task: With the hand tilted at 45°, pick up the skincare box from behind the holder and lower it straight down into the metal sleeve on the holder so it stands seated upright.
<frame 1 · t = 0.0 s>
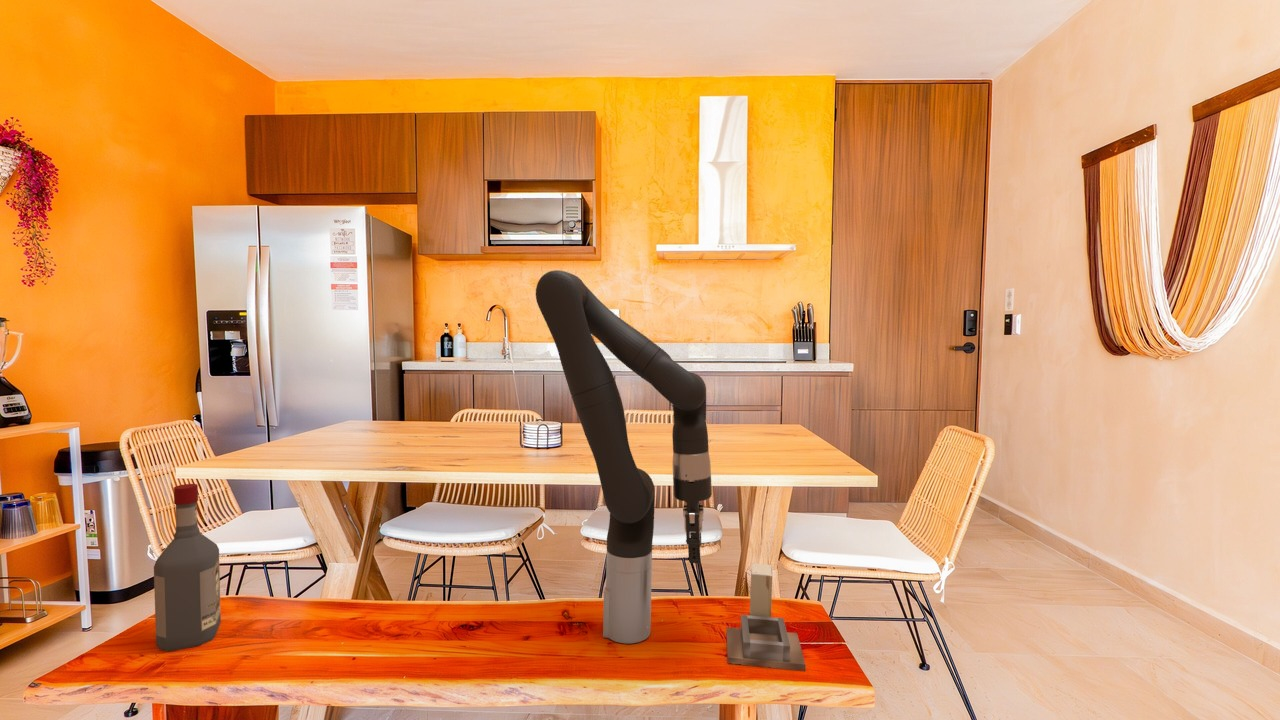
hand: (695, 553, 116), 17 cm above the bench, tool pointing down, fingers open, 8 cm apart
skincare box: (759, 626, 122), on the bench
serum holder: (763, 650, 112), on the bench
liquor: (189, 638, 113), on the bench
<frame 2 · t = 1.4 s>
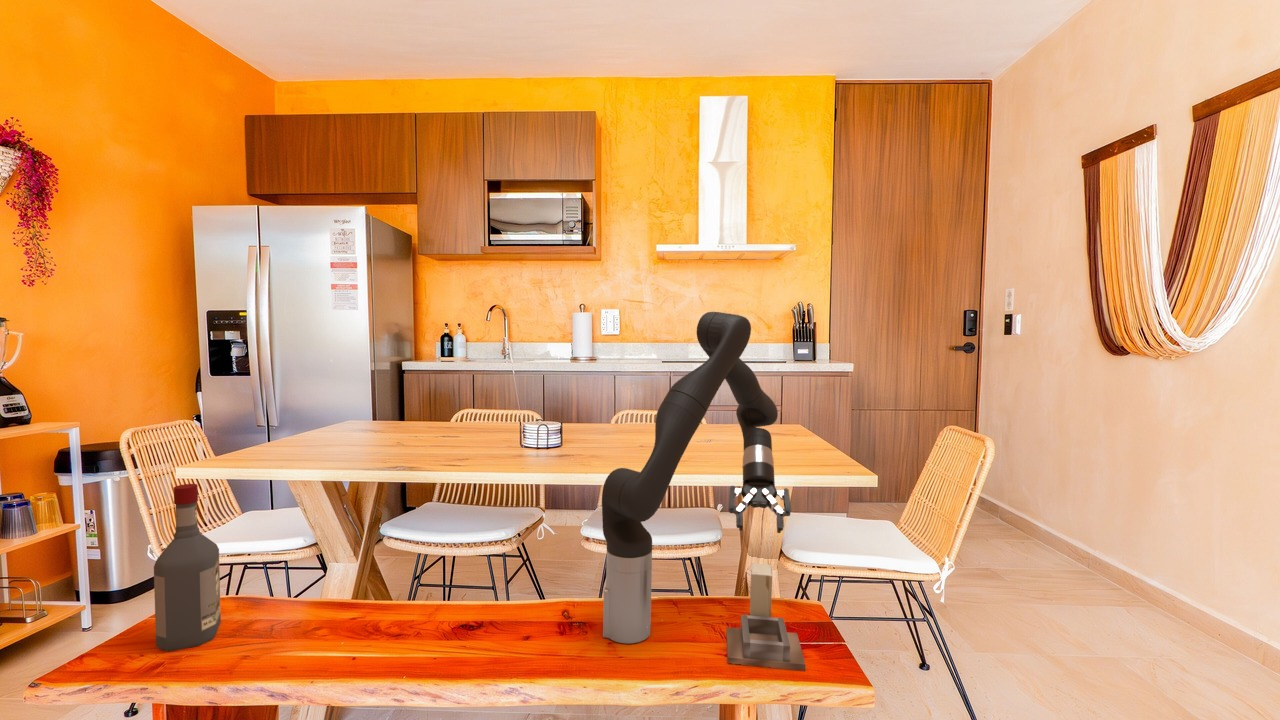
hand: (760, 530, 132), 16 cm above the bench, tool tilted 45°, fingers open, 8 cm apart
nothing on the bench moved.
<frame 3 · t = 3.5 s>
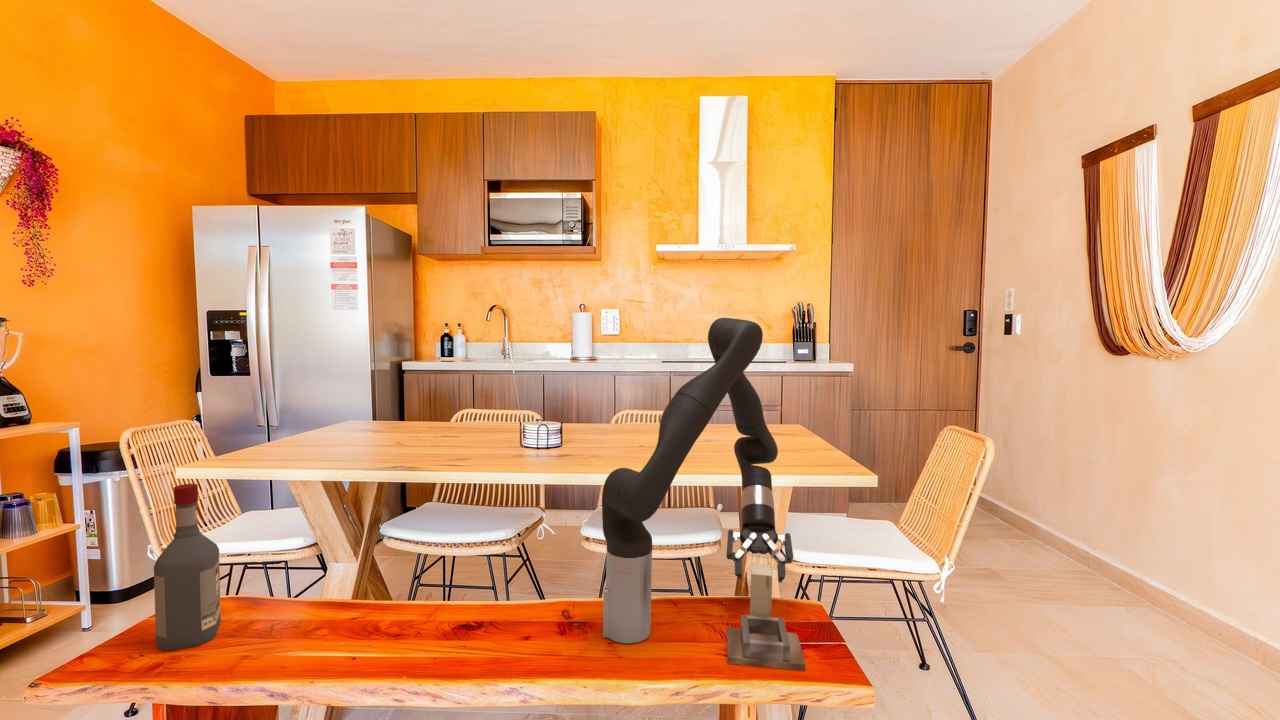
hand: (760, 579, 124), 9 cm above the bench, tool tilted 45°, fingers open, 8 cm apart
nothing on the bench moved.
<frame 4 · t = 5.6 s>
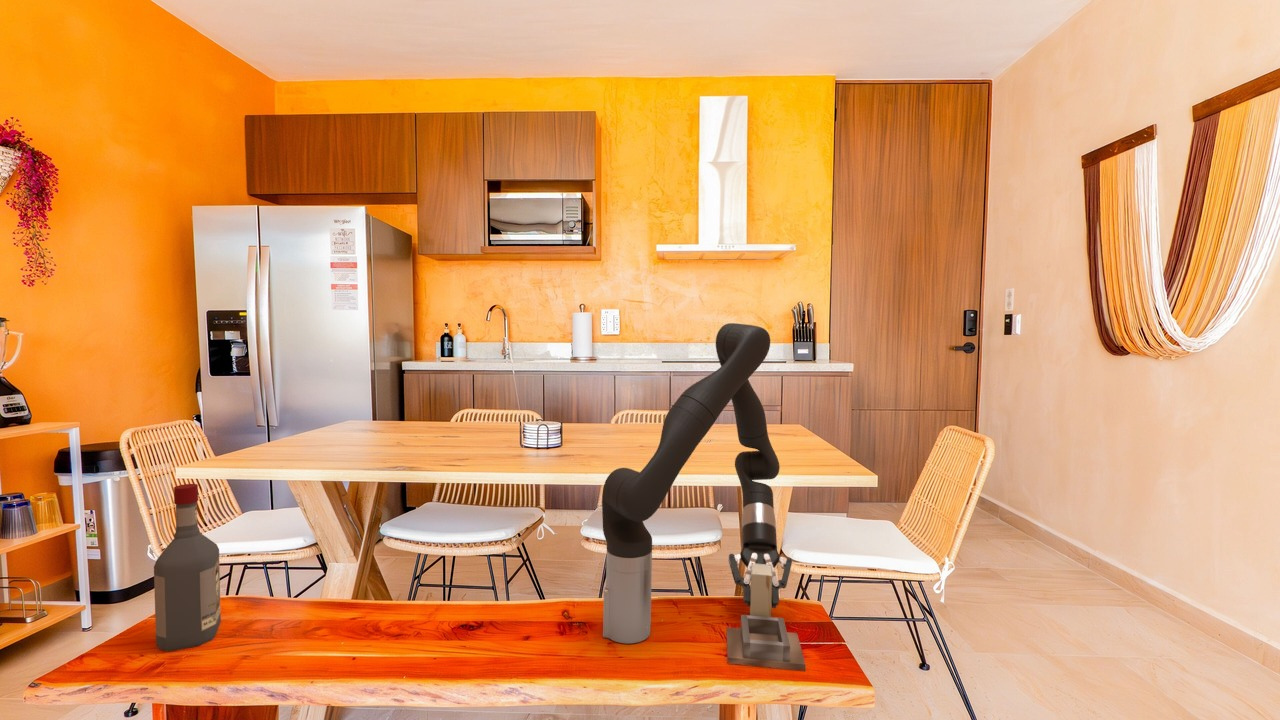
hand: (761, 605, 119), 5 cm above the bench, tool tilted 45°, fingers closed on skincare box, 4 cm apart
skincare box: (759, 626, 122), on the bench, touching gripper
everything else where it was.
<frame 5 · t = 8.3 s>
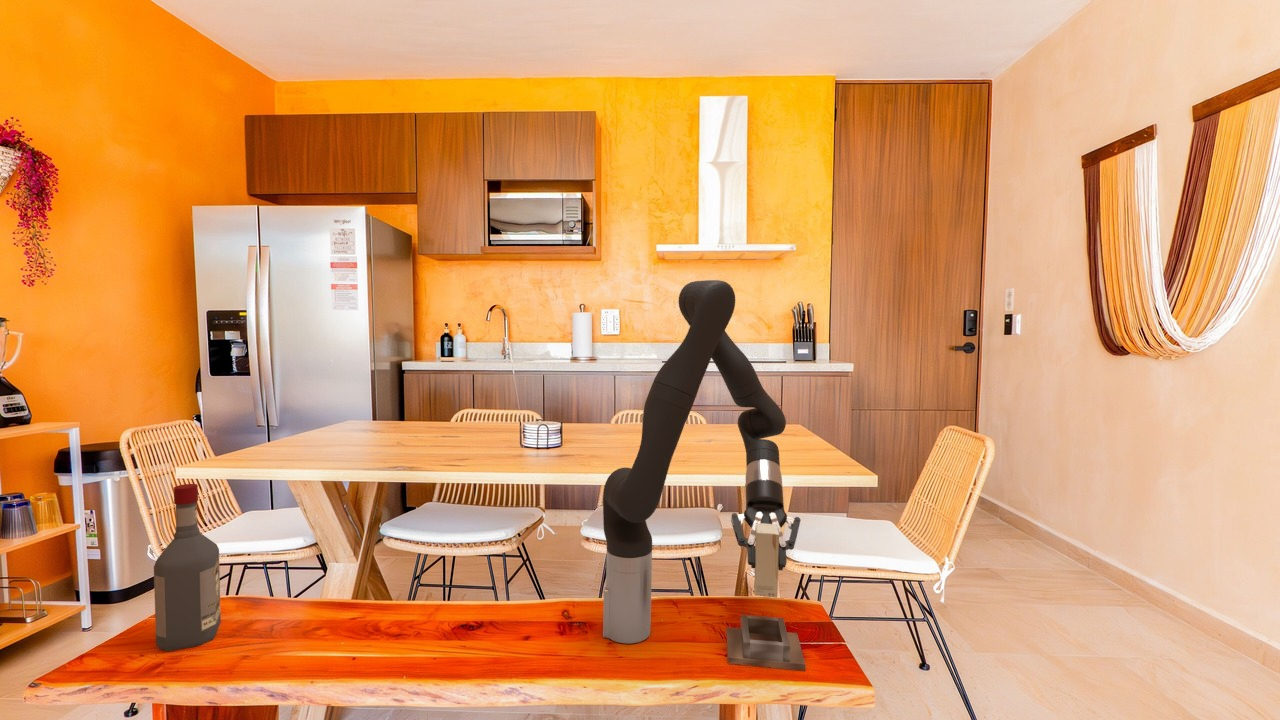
hand: (767, 567, 109), 17 cm above the bench, tool tilted 45°, fingers closed on skincare box, 4 cm apart
skincare box: (765, 591, 112), point 12 cm above the bench, touching gripper
everything else where it was.
when the fingers open (8 cm above the bench, at t = 11.2 s): skincare box drops 1 cm, resting on serum holder.
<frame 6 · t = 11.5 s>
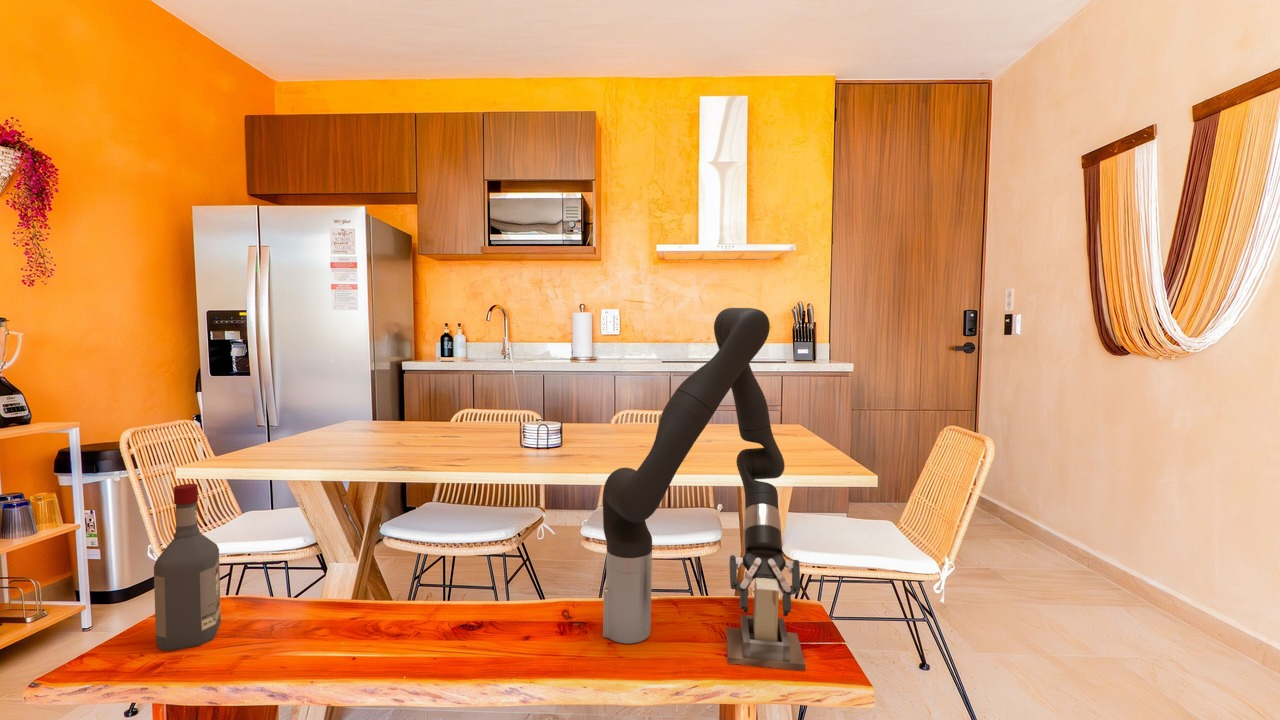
hand: (765, 612, 110), 8 cm above the bench, tool tilted 45°, fingers open, 7 cm apart
skincare box: (764, 645, 112), point 1 cm above the bench, touching serum holder
everything else where it was.
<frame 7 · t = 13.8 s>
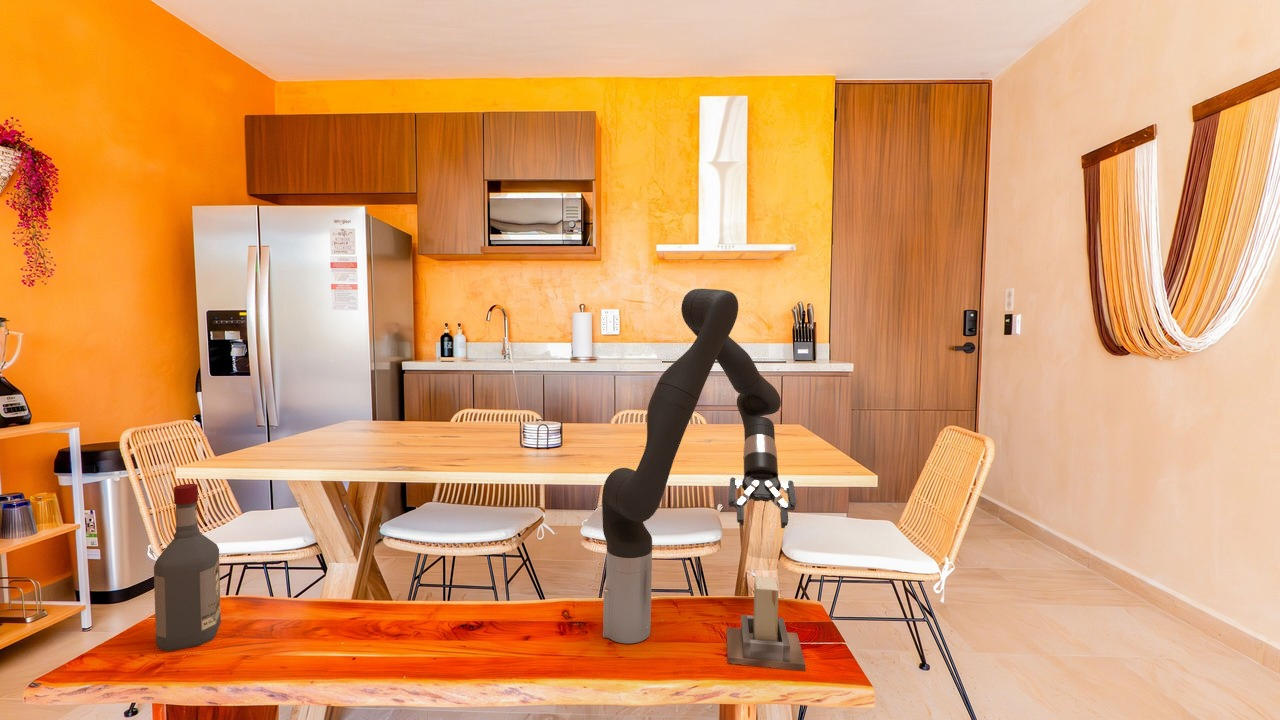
hand: (762, 525, 122), 21 cm above the bench, tool tilted 45°, fingers open, 8 cm apart
nothing on the bench moved.
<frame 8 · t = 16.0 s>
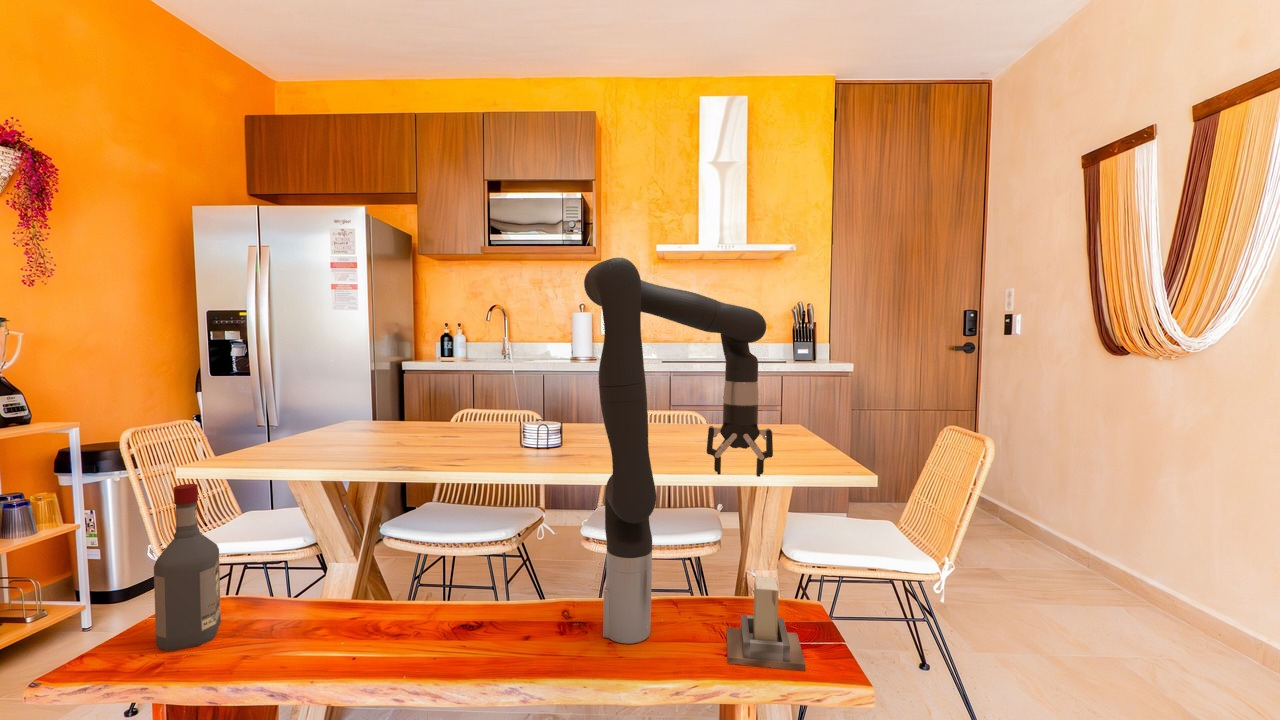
hand: (738, 474, 127), 30 cm above the bench, tool pointing down, fingers open, 8 cm apart
nothing on the bench moved.
at the end: skincare box 0.3 cm off-centre on the serum holder, point 1.0 cm above the serum holder's base; skincare box tilted 0°; the gripper is holding nothing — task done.
